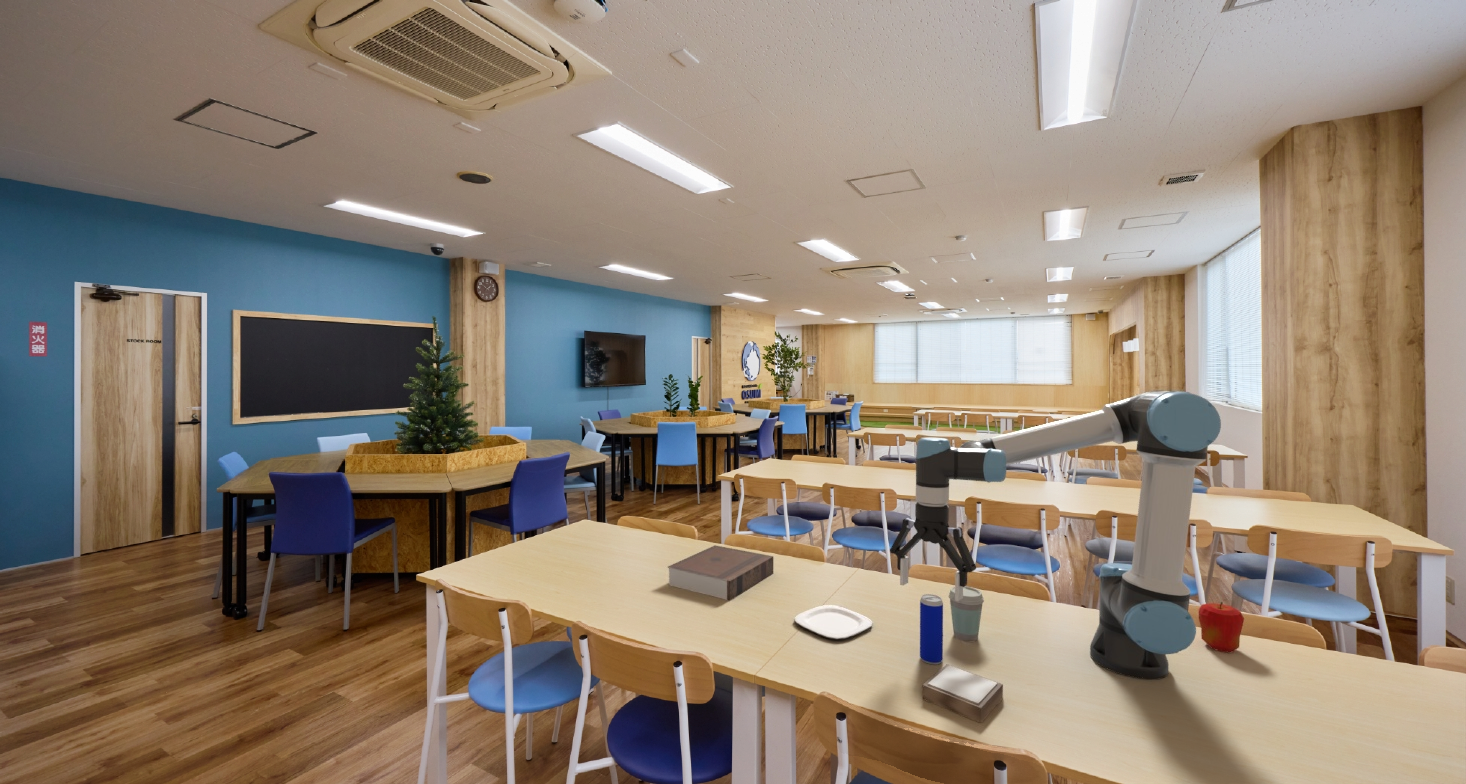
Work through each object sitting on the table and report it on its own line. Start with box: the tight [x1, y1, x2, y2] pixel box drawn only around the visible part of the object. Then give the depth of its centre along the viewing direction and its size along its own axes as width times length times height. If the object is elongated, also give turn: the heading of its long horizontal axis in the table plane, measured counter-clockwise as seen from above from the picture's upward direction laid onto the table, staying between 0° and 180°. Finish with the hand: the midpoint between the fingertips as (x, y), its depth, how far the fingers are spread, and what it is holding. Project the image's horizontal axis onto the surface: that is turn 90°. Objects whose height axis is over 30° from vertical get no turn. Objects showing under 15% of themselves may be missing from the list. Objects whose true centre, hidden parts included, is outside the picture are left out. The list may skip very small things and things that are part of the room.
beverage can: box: [919, 593, 944, 665], centre depth 134 cm, size 5×5×15 cm
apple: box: [1198, 601, 1245, 653], centre depth 140 cm, size 9×8×12 cm
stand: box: [921, 664, 1004, 724], centre depth 118 cm, size 12×12×3 cm
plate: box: [793, 604, 874, 640], centre depth 154 cm, size 18×18×2 cm
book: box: [667, 545, 774, 601], centre depth 189 cm, size 24×28×6 cm
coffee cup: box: [948, 585, 985, 643], centre depth 146 cm, size 8×9×12 cm
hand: (930, 591), depth 134 cm, fingers open, 13 cm apart
